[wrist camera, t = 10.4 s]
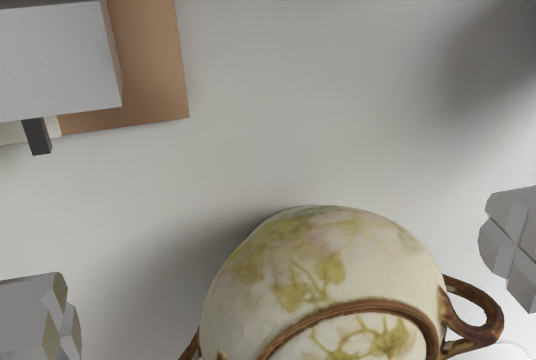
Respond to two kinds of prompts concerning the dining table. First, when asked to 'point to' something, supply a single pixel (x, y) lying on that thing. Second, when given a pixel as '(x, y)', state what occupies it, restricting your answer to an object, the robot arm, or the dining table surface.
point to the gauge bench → (131, 74)
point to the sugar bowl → (336, 294)
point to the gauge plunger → (56, 63)
